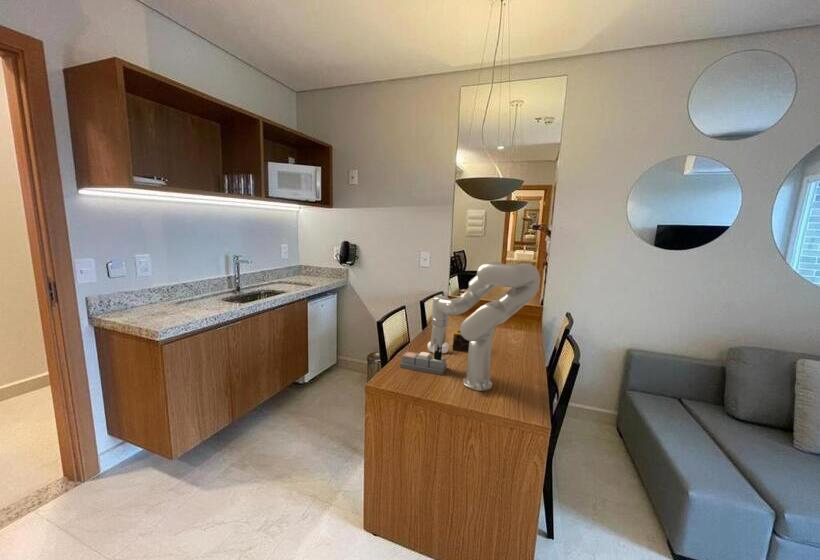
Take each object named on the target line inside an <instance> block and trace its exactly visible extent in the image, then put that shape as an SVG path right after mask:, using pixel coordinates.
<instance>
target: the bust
mask: <svg viewBox="0 0 820 560" xmlns="http://www.w3.org/2000/svg"><path fill="white" fill-rule="evenodd" d="M434 347H435V344H434V345H433V346H432V347H431V341H429V342H428V343H427V349H428V350H427V351H429V353H430V352H431V353H433V354H434ZM449 349H450V345H449V343H447V342H446V341H445V342H444V344H443V345H442V354H446V353H448V351H449Z"/></svg>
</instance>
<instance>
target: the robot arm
mask: <svg viewBox="0 0 820 560" xmlns="http://www.w3.org/2000/svg"><path fill="white" fill-rule="evenodd" d="M540 285H541V275H540V272H539V270H538V268H537V267H536V266H535V265H533V264H530V263H517V264H504V263H502V262H500V261H497V260H496V261H489V262H488V261H487V262H484V263H482V264H481V265H480V266H479V267H478V268H477V271H476V275H475V276H474V277H472V278H471V279H470V280H469V281H468V289H467V290H466V291H464V293H462V294H461V295H460V296H458V297H457V296H456V297H455V298H450V299H449V297H448V296H446V295H435V296H433V298H432V308H431V309H432V313H431V326H432V329H431V334H430V335H431V337H430V342H431V347H432V346H433V345H434V344H435V347H434V353H433V356H434V359H436V360H441V357H442V354H443V353H442V345H443V344H444V342H446V333H447V332H446V331H447V329H446V328H447V327H448V325H449V324H448V323H449V317H454V316H455V317H456V316H458V315H460V314H464V313H466V312H467V311H469V310H470V309H472V308H473V307H474V306H475V305H477V304H478V303H479V302H480V301H481V299H482V298H483V297H484V296H485V295H486V294H488V293H489V291H491V290H492V289H493V288H495V287H505V288H509V289H508V290H506V292H505V293H503V294H502V295H501V296H500V297H498V298H497V299H495V300H492V301H489V302H487V303H485V304H483V305H481V306H479V307H478V308H477V309H475V310H474V311H473V312H471V314H470V315H469V316H467V317H466V318H465V319H464V320H462V322H461V325H460V328H459V329H460V332H461V335H462V337H463V338H464V339H465V340H467V341H470V342H469V351H468V352H467V353H468V354H467V369H466V376H465V377H463V379H462V384H463V385H464V387H466V388H468V389H470V390H474V391H477V392H478V391H479V392H480V391H481V392H483V391H489V390H491V388H492V387H493V382H492V381H491V380H490V369H491V368H490V367H491V357H492V356H491V355H492V346H493V344H492V343H493V338H494V333H495V331H496V330H495V328H496V327H498V326H499V325H501V324H503V323H505V322H506V321H508V319H510V318H511V317H513V315H515V314H516V313H518V311H520V310H521V309H522V308H523V307H524V306H526V305H527V304H528V303H529V302H530V301H531V300H532V299H533V298H534V297H535V296H536V294H537V293H538V291H539V288H540Z"/></svg>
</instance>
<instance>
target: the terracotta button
mask: <svg viewBox="0 0 820 560" xmlns="http://www.w3.org/2000/svg"><path fill="white" fill-rule="evenodd" d="M414 353H415V352H413V353H407V354H406V355H405V356H410V357H414V356H415V355H416V354H414Z"/></svg>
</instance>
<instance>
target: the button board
mask: <svg viewBox="0 0 820 560" xmlns="http://www.w3.org/2000/svg"><path fill="white" fill-rule="evenodd" d="M407 353H414V354H416V355H415V356H414V357H410V356H405V355H406V354H407ZM419 354H420V353H417V352H413V351H406V352H405V353H403V354H402V355H401V362H400V364H399V365H400V366H399V367H400V368H402V369H407V370H412V371H418V372H423V373H429V374H434V375H440V376H443V375H444V373H445V371H446V370H447V368H448V364H447V357H441V358H444V360H443V361H442V362H439V361H433V359H434V355H432V354H430V357H429V358H428V360H427V359H421V358H418V355H419Z"/></svg>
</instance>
